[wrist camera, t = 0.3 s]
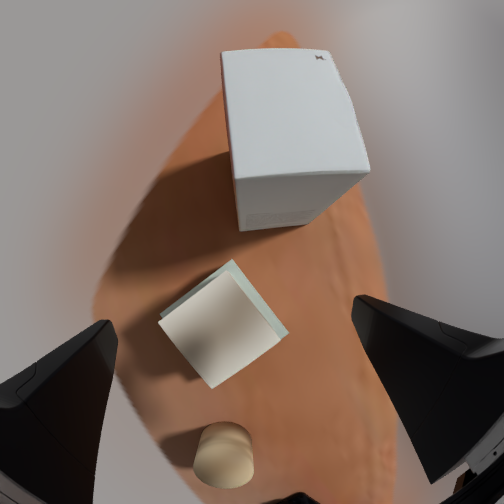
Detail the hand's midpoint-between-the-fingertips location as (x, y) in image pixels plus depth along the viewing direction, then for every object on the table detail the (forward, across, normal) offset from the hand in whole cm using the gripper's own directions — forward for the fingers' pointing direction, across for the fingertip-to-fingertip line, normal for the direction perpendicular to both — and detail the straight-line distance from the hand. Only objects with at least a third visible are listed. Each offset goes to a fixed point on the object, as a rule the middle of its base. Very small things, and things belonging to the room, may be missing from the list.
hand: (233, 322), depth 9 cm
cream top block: (+9, +1, +6) cm, 11 cm away
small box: (+17, -4, -2) cm, 17 cm away
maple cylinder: (+6, +2, +19) cm, 20 cm away
